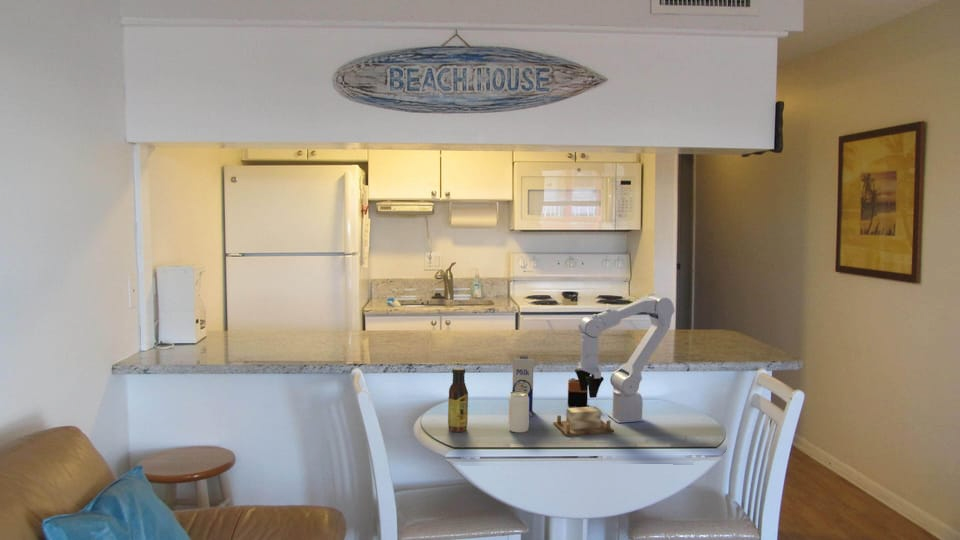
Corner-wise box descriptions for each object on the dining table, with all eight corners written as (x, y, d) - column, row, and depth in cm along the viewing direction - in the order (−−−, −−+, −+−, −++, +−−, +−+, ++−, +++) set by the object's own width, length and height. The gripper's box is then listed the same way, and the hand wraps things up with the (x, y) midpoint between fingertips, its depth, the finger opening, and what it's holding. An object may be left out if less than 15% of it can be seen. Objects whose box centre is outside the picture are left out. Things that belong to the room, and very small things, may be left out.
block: (594, 422, 204) (595, 406, 203) (600, 427, 199) (601, 410, 199) (566, 424, 201) (566, 408, 201) (571, 429, 197) (571, 412, 197)
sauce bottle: (463, 434, 194) (463, 372, 192) (444, 431, 196) (445, 370, 194) (470, 427, 200) (471, 367, 198) (452, 424, 202) (453, 365, 200)
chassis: (599, 420, 208) (599, 411, 207) (614, 432, 197) (614, 422, 197) (553, 424, 204) (553, 414, 204) (565, 436, 193) (565, 426, 193)
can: (514, 434, 194) (515, 397, 193) (504, 428, 200) (505, 391, 199) (532, 431, 197) (533, 394, 196) (521, 424, 203) (522, 389, 202)
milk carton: (511, 415, 211) (512, 358, 209) (512, 409, 218) (513, 353, 216) (532, 417, 211) (533, 359, 209) (532, 410, 217) (534, 354, 215)
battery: (587, 408, 221) (588, 380, 220) (568, 407, 222) (568, 379, 221) (586, 404, 225) (587, 377, 224) (567, 403, 226) (568, 376, 225)
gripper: (570, 349, 211) (568, 388, 212) (587, 359, 197) (585, 401, 198) (589, 348, 213) (588, 387, 214) (607, 358, 199) (606, 399, 200)
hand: (588, 393), depth 206 cm, fingers open, 7 cm apart
